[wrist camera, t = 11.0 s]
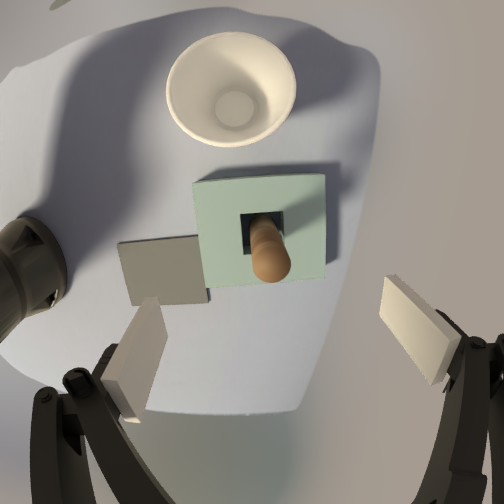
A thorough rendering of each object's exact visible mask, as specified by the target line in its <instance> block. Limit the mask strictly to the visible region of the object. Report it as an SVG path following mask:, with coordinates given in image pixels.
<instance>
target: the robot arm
mask: <svg viewBox="0 0 504 504" xmlns="http://www.w3.org/2000/svg"><path fill="white" fill-rule="evenodd" d="M66 285H67V270H66V265H65V260H64V257H63V254H62V251H61V249H60V247H59V244H58V243H57V241H56V239H55V237H54V236H53V234H52V233H51V232H50V230H49V229H48V228H47V227H46V226H45V225H44V224H43V223H41V222H40V221H38V220H37V219H35V218H32V217H21V218H18V219H16V220H14V221H11V222H10V223H8V224H7V225H6V226H5V227H4V228H3V229H2V231H1V232H0V343H1V342H2V341H3V340H4V339H5V338H6V337H7V335H8V334H9V333H10V332H11V331H12V330H13V329H14V328H15V327H16V326H17V325H18V324H19V323H20V322H21V321H22V320H23V319H24V318H26V317H29V316H32V315H35V314H38V313H41V312H44V311H46V310H49V309H50V308H52V307H53V306H54V305H55V304H56V303H57V302H58V301H60V299H61V298H62V297H63V295H64V293H65V290H66ZM379 316H380V317H381V318H382V319H383V321H384V322H385V323H386V325H387V326H388V327H389V329H390V330H391V331H392V333H393V334H394V335H395V337H396V338H397V339H398V341H399V342H400V343H401V345H402V346H403V347H404V348H405V350H406V351H407V353H408V354H409V356H410V357H411V358H412V359H413V361H414V362H415V364H416V365H417V367H418V368H419V370H420V371H421V372H422V373H423V375H424V377H425V378H426V379H427V381H428V382H429V384H430V385H431V386H432V385H435V384H437V383H439V382H442V381H443V379H444V377H445V375H446V373H448V374H449V375H450V378H449V381H448V382H447V384H446V387H445V388H444V390H443V393H444V392H445V391H446V390H447V391H446V396H445V402H444V407H443V412H442V416H441V421H440V425H439V430H438V433H437V438H436V441H435V444H434V448H433V451H432V455H431V458H430V461H429V464H428V467H427V470H426V473H425V475H424V478H423V481H422V484H421V486H420V488H419V491H418V493H417V496H416V498H415V499H414V501H413V502H412V504H482V501H483V497H484V493H485V489H486V485H487V476H486V475H483V474H482V466H483V461H484V455H485V449H486V441H487V433H488V432H489V440H490V450H491V464H492V504H504V334H500V335H499V336H498V338H497V340H496V342H495V343H486V342H485V341H484V340H483V339H482V338H480V337H476V336H472V337H468V336H467V335H466V334H465V333H464V332H463V331H462V330H461V329H460V328H459V327H458V326H457V325H456V324H454V322H453V321H452V320H450V318H449V317H448V316H447V315H446V314H445V313H443V312H441V311H439V310H437V309H436V310H434V309H433V308H432V307H431V306H430V305H429V304H428V303H427V302H426V301H425V300H424V299H422V298H421V297H420V296H419V295H418V294H417V293H416V292H415V291H414V290H413V289H412V288H410V287H409V286H408V285H407V284H406V283H405V282H404V281H402V280H401V279H400V278H399V277H398V276H397V275H396V274H395V275H388V276H385V280H384V288H383V294H382V301H381V308H380V313H379ZM167 338H168V334H167V331H166V327H165V323H164V320H163V316H162V312H161V308H160V304H159V300H158V297H145V299H144V300H143V302H142V304H141V306H140V307H139V309H138V311H137V312H136V314H135V316H134V318H133V319H132V321H131V323H130V325H129V326H128V328H127V330H126V332H125V334H124V335H123V337H122V339H121V341H120V343H119V344H113V343H112V344H111V345H110V346H109V347H108V348H106V349H105V351H104V353H103V354H102V356H101V358H100V360H99V361H98V364H97V365H96V367H95V369H94V370H93V372H92V374H90V373H89V371H88V370H87V369H85V368H79V367H78V368H74V369H72V370H70V371H68V372H67V373H66V374H65V375H64V377H63V385H64V387H65V388H66V390H67V391H68V394H58V392H57V391H56V390H55V388H53V387H44V388H41V389H40V390H39V391H38V392H37V393H36V394H35V397H34V402H33V411H32V421H31V437H30V478H31V494H32V504H96V500H95V496H94V491H93V487H92V482H91V477H90V472H89V467H88V460H87V455H86V446H85V438H84V435H85V436H86V438H87V441H88V443H89V445H90V448H91V450H92V452H93V455H94V457H95V459H96V461H97V463H98V465H99V467H100V469H101V471H102V473H103V475H104V477H105V479H106V481H107V483H108V484H109V486H110V488H111V490H112V492H113V493H114V495H115V497H116V498H117V500H118V502H119V503H120V504H176V503H175V502H174V501H173V500H172V498H171V497H170V496H169V495H168V493H167V492H166V491H165V490H164V488H163V487H162V486H161V485H160V483H159V482H158V481H157V479H156V478H155V477H154V475H153V474H152V473H151V471H150V470H149V468H148V467H147V465H146V464H145V462H144V461H143V460H142V458H141V457H140V455H139V453H138V452H137V450H136V449H135V447H134V446H133V444H132V443H131V441H130V440H129V438H128V436H127V434H126V433H125V431H124V429H123V427H122V426H121V424H120V422H119V421H118V419H119V416H120V414H121V415H122V417H123V418H124V420H125V421H127V422H135V423H141V420H142V416H143V413H144V410H145V407H146V403H147V400H148V397H149V393H150V390H151V387H152V384H153V381H154V377H155V374H156V371H157V368H158V365H159V362H160V359H161V356H162V353H163V350H164V347H165V344H166V341H167ZM502 374H503V380H502V377H501V376H502Z"/></svg>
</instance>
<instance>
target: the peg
mask: <svg viewBox="0 0 504 504" xmlns="http://www.w3.org/2000/svg"><path fill="white" fill-rule="evenodd" d="M249 230H250V242H251V255H252V267H253V271H254V274H255V275H256V276H257V278H259V279H260V280H262V281H264V282H267V283H275V282H279V281H281V280H282V279H284V278H285V277H286V276H287V275H288V273H289V272H290V269H291V259H290V257H289V255H288V252H287V250H286V248H285V245H284V243H283V241H282V239H281V237H280V234H279V232H278V230H277V228H276V225H275V223H274V221H273V219H272V218H271V217H270V216H268V215H265V214H259V215H256V216H255V217H253V218H252V220H251V221H250V225H249Z"/></svg>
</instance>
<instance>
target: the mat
mask: <svg viewBox="0 0 504 504" xmlns="http://www.w3.org/2000/svg"><path fill="white" fill-rule="evenodd" d="M117 248H118V253H119V257H120V261H121V266H122V270H123V274H124V278H125V282H126V285H127V289H128V293H129V296H130V300H131V303H132V306H141V304H142V302H143V300H144V299H145V297H158V300H159V304H160V305H179V304H200V303H208V302H209V300H208V294H207V288H206V286H205V279H204V273H203V266H202V259H201V252H200V245H199V238H198V236H190V237H179V238H168V239H158V240H148V241H138V242H128V243H119V244H117Z"/></svg>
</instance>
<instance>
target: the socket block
mask: <svg viewBox="0 0 504 504" xmlns="http://www.w3.org/2000/svg"><path fill="white" fill-rule="evenodd" d="M192 188H193V197H194V206H195V214H196V222H197V230H198V238H199V245H200V252H201V259H202V266H203V273H204V279H205V286H206V288H213V287H228V286H242V285H255V284H267V282H264V281H262V280H260V279H259V278H257V276H256V275H255V274H254V271H253V267H252V255H251V246H243V236H242V224H241V214H246V213H259V212H273V211H280V221H281V239H282V241H283V243H284V245H285V248H286V250H287V252H288V255H289V257H290V259H291V269H290V272H289V273H288V275H287V276H286V277H285V278H284V279H282V280H281V281H279V282H290V281H301V280H311V279H321V278H325V263H326V189H325V174H321V173H296V174H275V175H259V176H246V177H234V178H223V179H213V180H203V181H196V182H194V183H192ZM279 282H275V283H279Z"/></svg>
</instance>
